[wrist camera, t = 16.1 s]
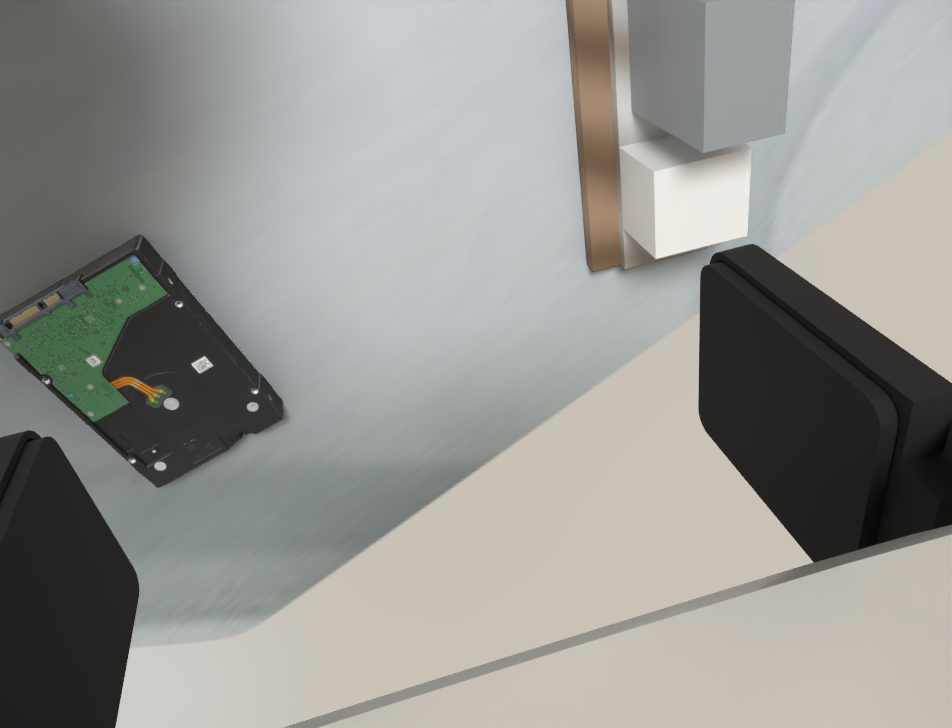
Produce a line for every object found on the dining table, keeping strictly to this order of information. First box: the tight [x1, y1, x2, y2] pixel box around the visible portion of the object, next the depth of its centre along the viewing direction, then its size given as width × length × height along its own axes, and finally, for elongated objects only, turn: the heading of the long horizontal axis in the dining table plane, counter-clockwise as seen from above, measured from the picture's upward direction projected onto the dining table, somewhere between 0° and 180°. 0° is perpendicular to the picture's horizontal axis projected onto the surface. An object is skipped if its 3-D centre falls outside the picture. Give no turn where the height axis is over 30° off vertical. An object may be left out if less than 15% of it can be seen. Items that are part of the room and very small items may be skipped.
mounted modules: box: [619, 135, 752, 259], centre depth 42 cm, size 22×6×5 cm, turn 10°
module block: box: [627, 0, 795, 153], centre depth 40 cm, size 7×5×9 cm
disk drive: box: [0, 235, 283, 488], centre depth 48 cm, size 10×3×15 cm
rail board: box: [566, 0, 707, 271], centre depth 44 cm, size 28×10×2 cm, turn 10°
